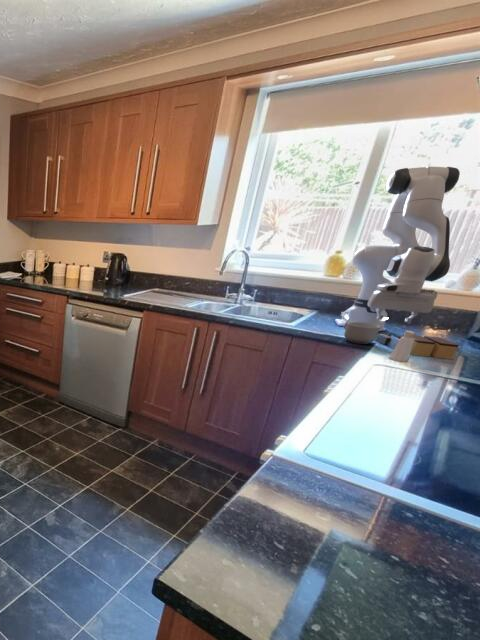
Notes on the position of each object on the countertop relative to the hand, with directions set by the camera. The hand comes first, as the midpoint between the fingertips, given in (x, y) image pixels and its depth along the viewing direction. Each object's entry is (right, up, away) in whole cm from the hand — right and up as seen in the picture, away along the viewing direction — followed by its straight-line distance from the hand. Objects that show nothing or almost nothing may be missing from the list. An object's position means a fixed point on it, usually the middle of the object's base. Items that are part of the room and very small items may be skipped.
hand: (393, 320), depth 180 cm
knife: (-3, -11, -2) cm, 12 cm away
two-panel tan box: (+4, -14, -8) cm, 17 cm away
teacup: (-11, -8, +5) cm, 15 cm away
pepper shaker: (-17, -18, -19) cm, 31 cm away
